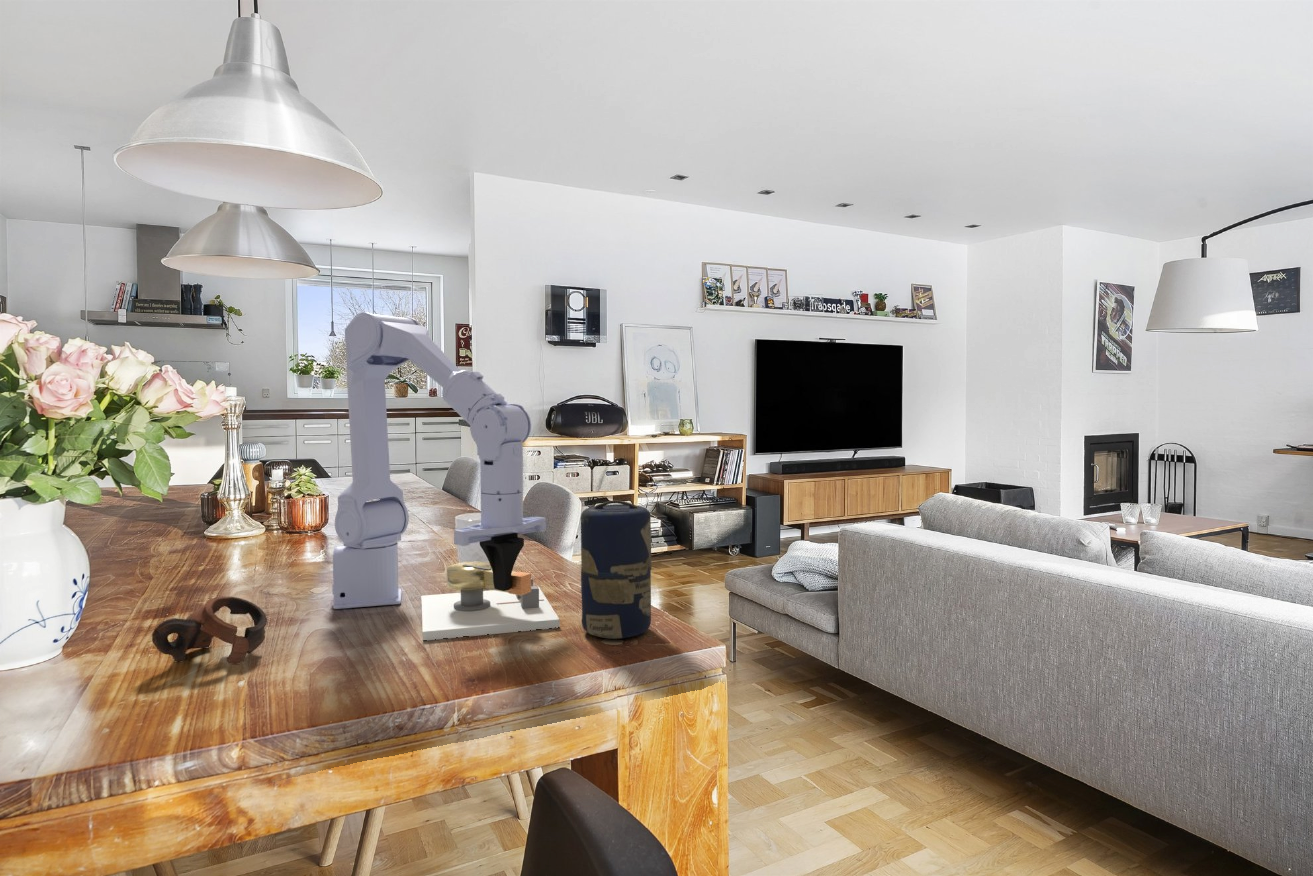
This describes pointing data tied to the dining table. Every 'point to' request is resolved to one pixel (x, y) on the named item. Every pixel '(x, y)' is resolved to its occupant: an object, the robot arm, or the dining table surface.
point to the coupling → (484, 578)
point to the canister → (616, 570)
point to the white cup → (472, 550)
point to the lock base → (485, 613)
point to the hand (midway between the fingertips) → (502, 589)
